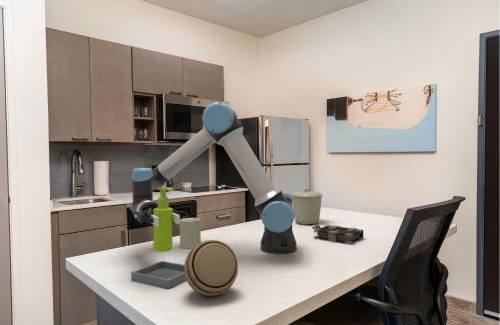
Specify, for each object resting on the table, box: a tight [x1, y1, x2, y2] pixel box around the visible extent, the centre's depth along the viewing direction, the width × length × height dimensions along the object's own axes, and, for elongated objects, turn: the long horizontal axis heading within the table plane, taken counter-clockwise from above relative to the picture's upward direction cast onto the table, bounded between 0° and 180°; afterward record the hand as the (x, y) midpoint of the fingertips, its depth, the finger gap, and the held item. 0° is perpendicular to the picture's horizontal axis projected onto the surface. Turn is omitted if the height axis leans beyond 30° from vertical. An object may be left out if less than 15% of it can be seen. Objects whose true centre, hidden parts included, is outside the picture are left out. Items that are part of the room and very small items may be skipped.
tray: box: [130, 260, 187, 290], centre depth 111 cm, size 16×14×2 cm
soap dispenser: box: [153, 186, 175, 252], centre depth 111 cm, size 6×7×20 cm
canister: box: [290, 186, 324, 226], centre depth 198 cm, size 18×18×21 cm
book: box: [311, 224, 364, 246], centre depth 162 cm, size 15×25×5 cm, turn 49°
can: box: [179, 217, 202, 250], centre depth 150 cm, size 9×9×12 cm
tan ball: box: [183, 239, 239, 297], centre depth 97 cm, size 15×15×15 cm
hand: (168, 221), depth 107 cm, fingers closed on soap dispenser, 6 cm apart
